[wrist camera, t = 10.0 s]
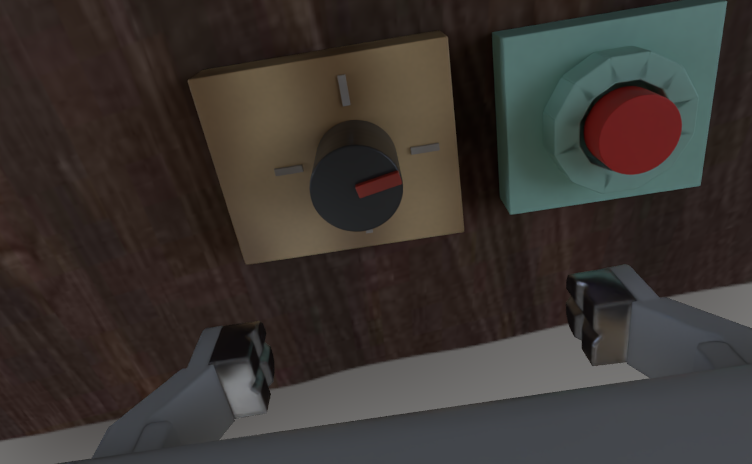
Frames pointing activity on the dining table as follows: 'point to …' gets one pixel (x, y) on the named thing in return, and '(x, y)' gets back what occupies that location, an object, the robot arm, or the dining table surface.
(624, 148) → the power button
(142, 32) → the dining table surface
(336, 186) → the dimmer knob
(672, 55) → the switch block
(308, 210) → the dimmer panel
